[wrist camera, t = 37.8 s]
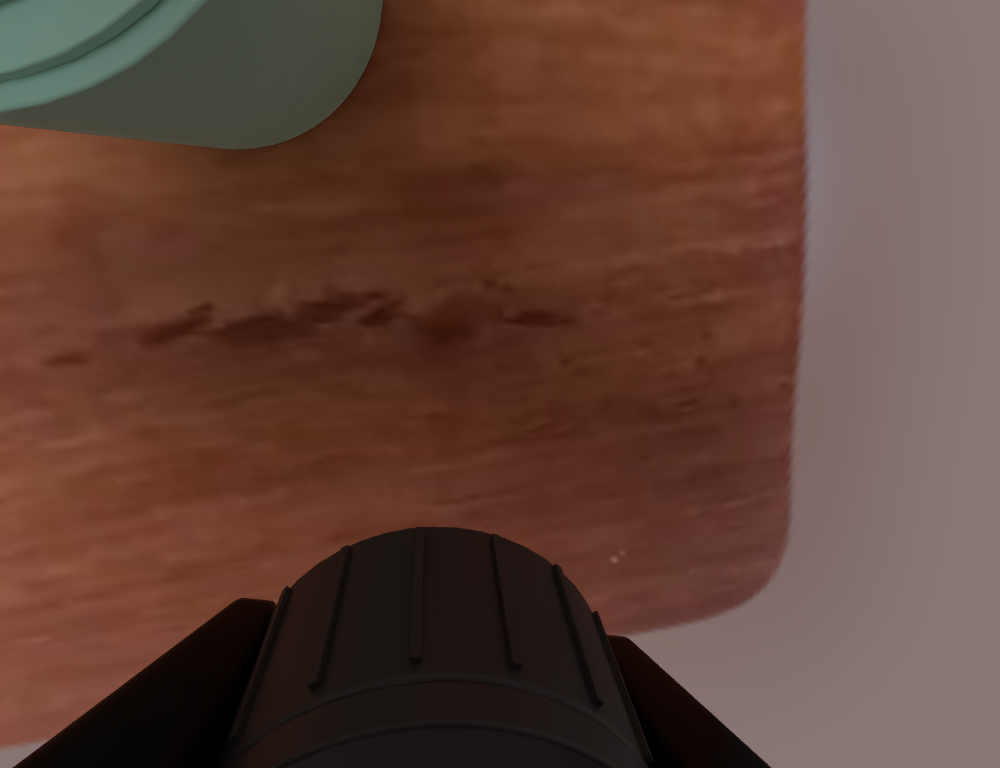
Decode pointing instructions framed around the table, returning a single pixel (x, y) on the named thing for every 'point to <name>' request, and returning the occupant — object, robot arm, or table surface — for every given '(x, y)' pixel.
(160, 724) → the robot arm
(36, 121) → the bottle
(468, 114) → the table surface
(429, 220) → the table surface
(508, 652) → the cap
